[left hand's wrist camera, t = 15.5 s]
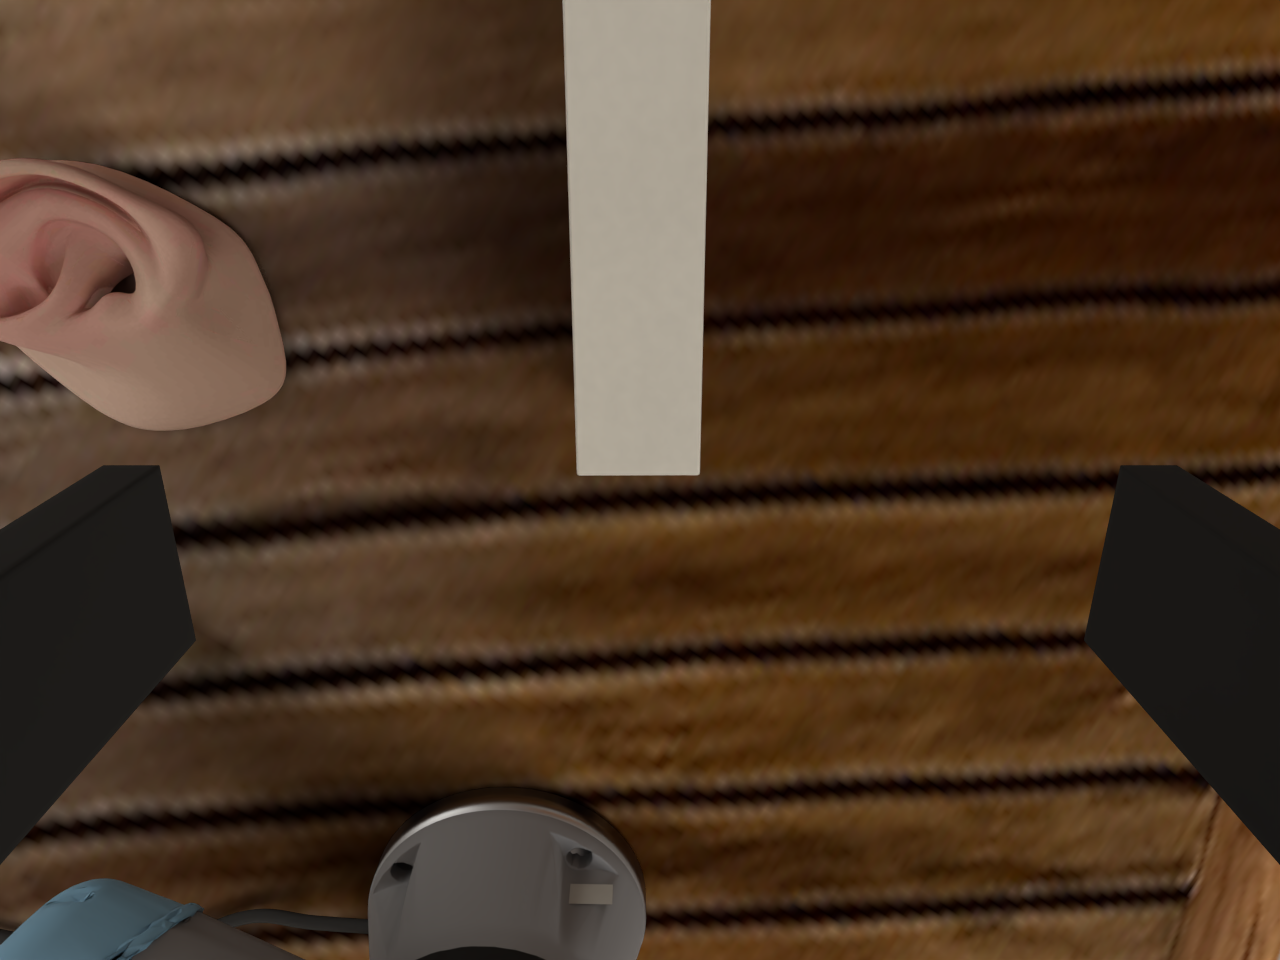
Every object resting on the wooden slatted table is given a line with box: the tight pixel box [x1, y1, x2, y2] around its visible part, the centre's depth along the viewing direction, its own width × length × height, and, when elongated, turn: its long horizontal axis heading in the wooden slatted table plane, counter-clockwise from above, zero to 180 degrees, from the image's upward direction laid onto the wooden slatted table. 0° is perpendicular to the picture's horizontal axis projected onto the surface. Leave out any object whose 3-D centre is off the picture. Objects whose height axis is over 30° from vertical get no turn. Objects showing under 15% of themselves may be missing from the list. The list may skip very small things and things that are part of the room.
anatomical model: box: [0, 158, 286, 431], centre depth 37 cm, size 13×4×12 cm
